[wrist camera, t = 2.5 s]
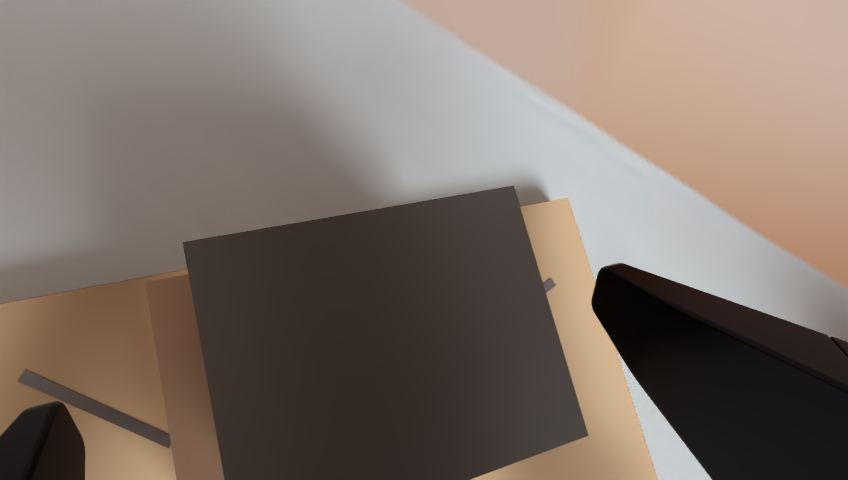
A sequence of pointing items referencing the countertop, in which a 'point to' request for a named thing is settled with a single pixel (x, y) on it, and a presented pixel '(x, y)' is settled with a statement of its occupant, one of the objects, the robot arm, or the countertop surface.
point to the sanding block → (364, 348)
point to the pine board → (143, 397)
